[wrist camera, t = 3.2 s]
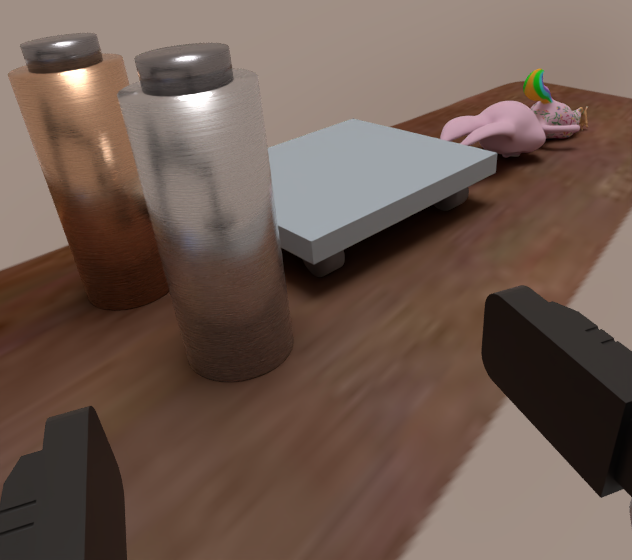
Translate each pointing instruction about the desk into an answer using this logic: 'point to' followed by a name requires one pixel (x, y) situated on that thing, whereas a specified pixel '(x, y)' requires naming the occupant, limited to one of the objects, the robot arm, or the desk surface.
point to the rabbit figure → (518, 122)
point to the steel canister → (211, 206)
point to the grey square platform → (363, 185)
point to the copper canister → (90, 166)
